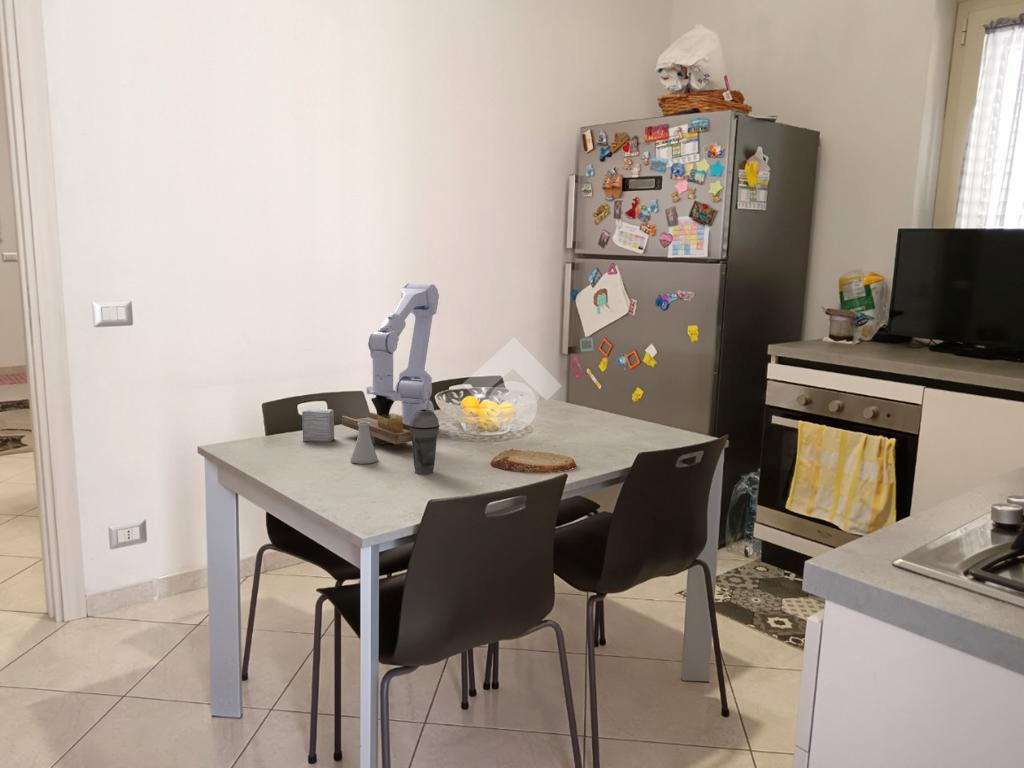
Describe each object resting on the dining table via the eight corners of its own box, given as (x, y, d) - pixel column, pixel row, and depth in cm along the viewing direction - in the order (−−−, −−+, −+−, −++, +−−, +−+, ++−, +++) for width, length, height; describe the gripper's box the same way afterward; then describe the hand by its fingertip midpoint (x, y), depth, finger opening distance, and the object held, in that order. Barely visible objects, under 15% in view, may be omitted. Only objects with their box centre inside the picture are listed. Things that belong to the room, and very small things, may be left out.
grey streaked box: (334, 439, 229) (334, 409, 228) (329, 442, 225) (329, 412, 224) (307, 437, 230) (307, 408, 229) (302, 441, 226) (301, 411, 224)
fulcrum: (394, 440, 229) (394, 430, 229) (398, 441, 228) (398, 431, 227) (370, 444, 224) (370, 434, 223) (374, 445, 222) (374, 435, 222)
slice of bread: (582, 468, 204) (583, 454, 203) (531, 480, 192) (531, 465, 191) (534, 454, 217) (534, 441, 216) (483, 465, 205) (483, 451, 204)
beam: (371, 420, 239) (371, 412, 239) (426, 439, 219) (426, 429, 218) (341, 424, 233) (341, 416, 233) (395, 444, 212) (395, 434, 212)
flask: (347, 464, 202) (346, 425, 200) (353, 457, 209) (352, 419, 207) (375, 465, 202) (375, 426, 200) (380, 458, 209) (380, 420, 207)
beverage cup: (409, 468, 199) (409, 388, 196) (439, 468, 200) (439, 389, 197) (408, 476, 192) (408, 394, 189) (439, 476, 193) (439, 394, 190)
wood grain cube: (393, 426, 226) (393, 413, 226) (402, 430, 223) (403, 416, 222) (377, 429, 223) (377, 415, 223) (387, 432, 220) (387, 418, 219)
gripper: (357, 372, 226) (357, 419, 228) (384, 379, 215) (384, 428, 217) (378, 370, 230) (378, 417, 233) (406, 377, 220) (406, 425, 222)
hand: (383, 422), depth 225 cm, fingers closed
